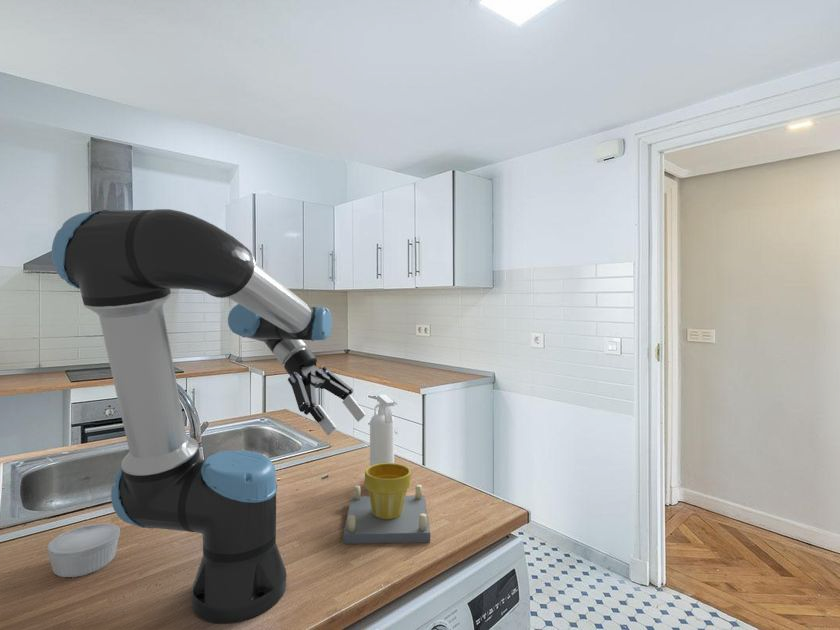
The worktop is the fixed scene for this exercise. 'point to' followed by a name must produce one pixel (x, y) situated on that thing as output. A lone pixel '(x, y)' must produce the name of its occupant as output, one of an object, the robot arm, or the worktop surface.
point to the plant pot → (387, 488)
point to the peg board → (387, 521)
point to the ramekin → (83, 549)
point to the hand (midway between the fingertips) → (348, 424)
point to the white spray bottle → (382, 432)
